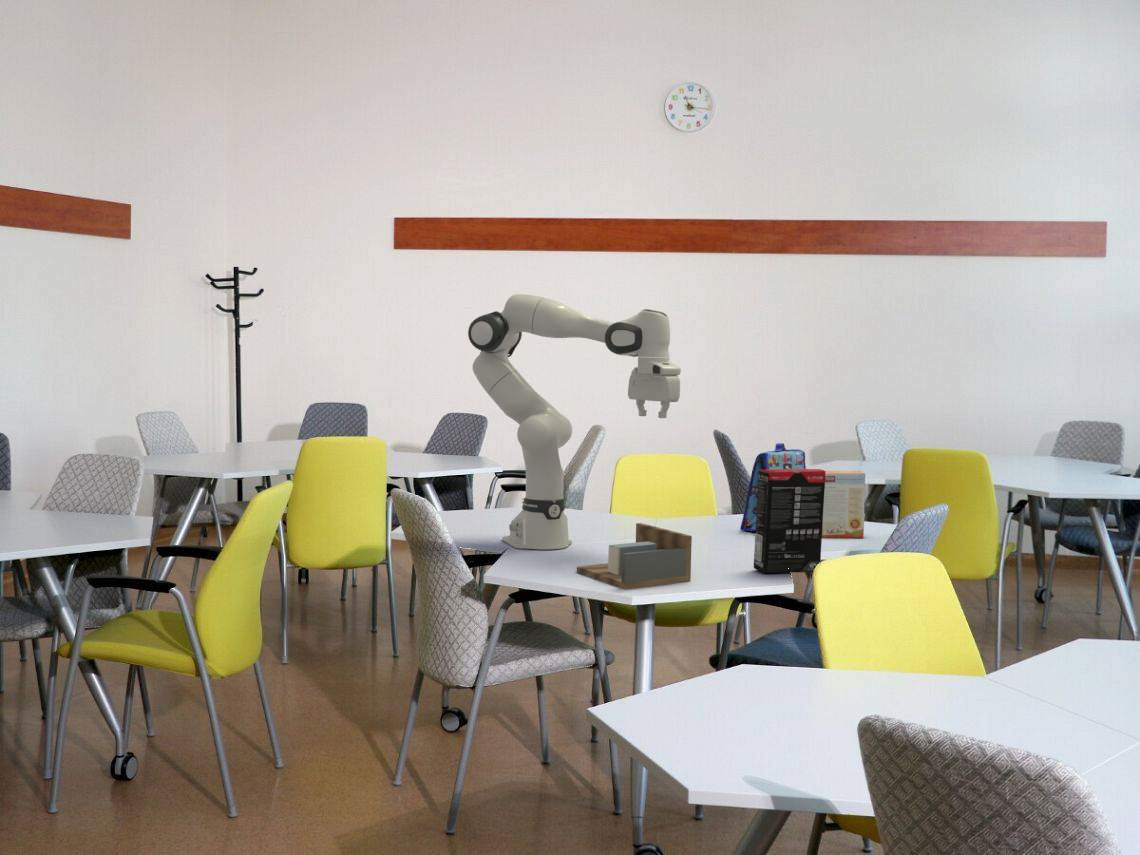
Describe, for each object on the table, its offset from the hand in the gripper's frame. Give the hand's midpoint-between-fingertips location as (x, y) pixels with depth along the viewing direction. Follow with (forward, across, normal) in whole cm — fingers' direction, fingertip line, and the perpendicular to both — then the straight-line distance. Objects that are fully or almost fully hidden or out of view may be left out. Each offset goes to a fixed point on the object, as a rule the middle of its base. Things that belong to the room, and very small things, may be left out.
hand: (652, 417), depth 293 cm
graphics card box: (+39, +35, +20) cm, 56 cm away
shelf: (+39, +22, -21) cm, 49 cm away
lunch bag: (+39, -16, +63) cm, 76 cm away
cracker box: (+39, +2, +73) cm, 83 cm away
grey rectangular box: (+38, +23, -22) cm, 49 cm away
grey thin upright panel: (+38, +32, -22) cm, 54 cm away
